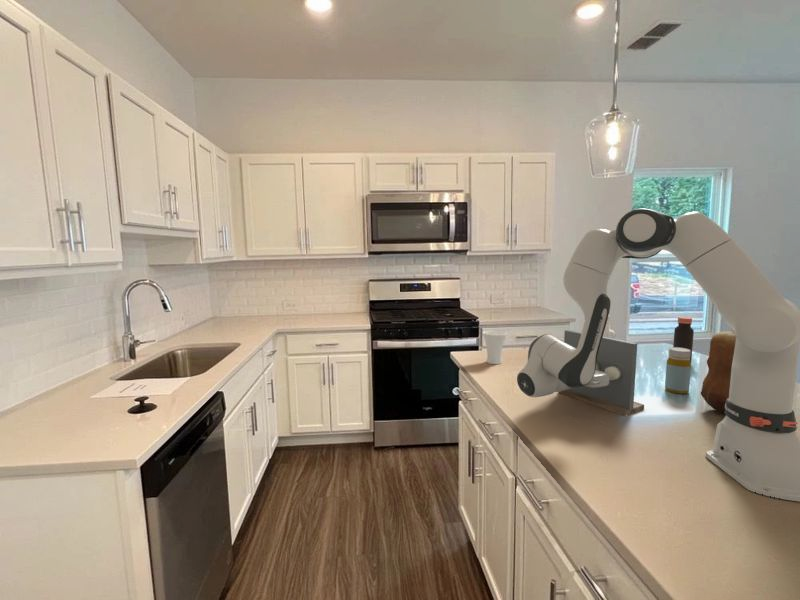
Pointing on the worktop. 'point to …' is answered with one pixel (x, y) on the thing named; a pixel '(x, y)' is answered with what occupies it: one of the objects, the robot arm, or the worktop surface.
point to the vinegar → (684, 334)
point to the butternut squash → (719, 370)
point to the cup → (494, 345)
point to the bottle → (678, 370)
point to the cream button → (613, 372)
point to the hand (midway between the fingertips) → (590, 368)
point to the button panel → (617, 391)
